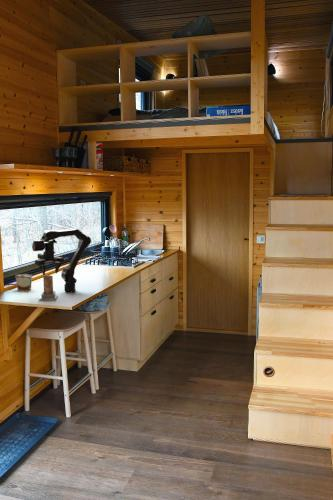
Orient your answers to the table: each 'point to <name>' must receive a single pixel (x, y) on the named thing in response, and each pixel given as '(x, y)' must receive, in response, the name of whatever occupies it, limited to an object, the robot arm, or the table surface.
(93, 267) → the table surface
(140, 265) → the table surface
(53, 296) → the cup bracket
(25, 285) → the food container
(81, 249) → the robot arm
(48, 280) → the walnut post
